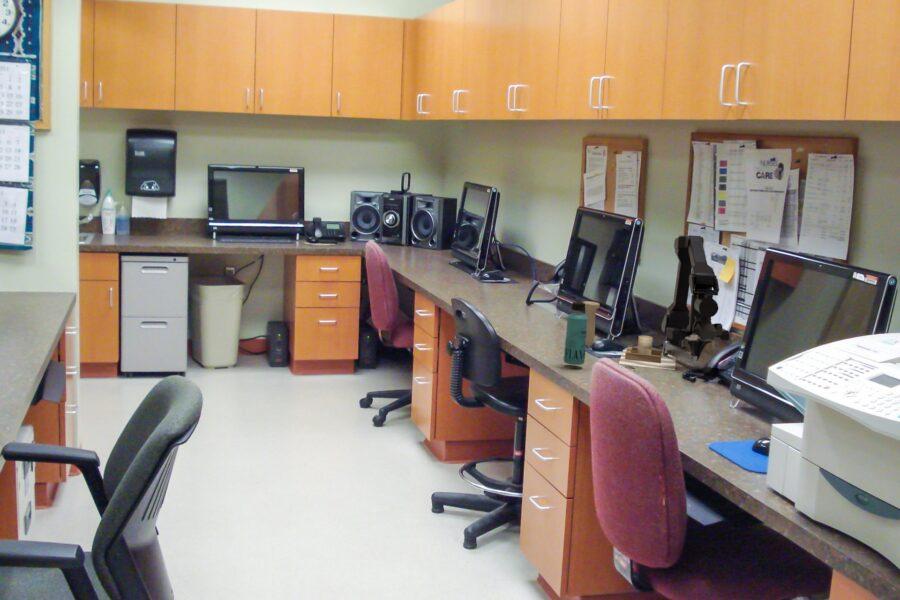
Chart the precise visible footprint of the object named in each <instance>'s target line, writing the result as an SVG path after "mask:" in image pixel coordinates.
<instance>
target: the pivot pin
mask: <svg viewBox="0 0 900 600" xmlns="http://www.w3.org/2000/svg"><path fill="white" fill-rule="evenodd" d="M653 339H654V338H653V336H650V335H638V341H637V347H638V350H637V353H639V354H648V355H651V351H652V349H653Z"/></svg>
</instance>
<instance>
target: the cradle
mask: <svg viewBox="0 0 900 600" xmlns="http://www.w3.org/2000/svg"><path fill="white" fill-rule="evenodd" d="M637 350H638V346H629V345H628V346H627V349H623V350H622V353H621V354H620V355H621V356H620V359H619V362H618V365H619V364H621V365H623V366H625V367H626V369H636V368H635V367H643V368H644V367H645V368H652V369H662V370H670V371H671V370H672V371H675V370H676V361H677V360H676V359H677V358H675V357H673V356H671V355H669V354H668V355H662V354H663V349H658V348H657V349H656V348H652V351H651V355H648V354H639V353H637ZM633 366H635V367H633Z"/></svg>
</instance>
